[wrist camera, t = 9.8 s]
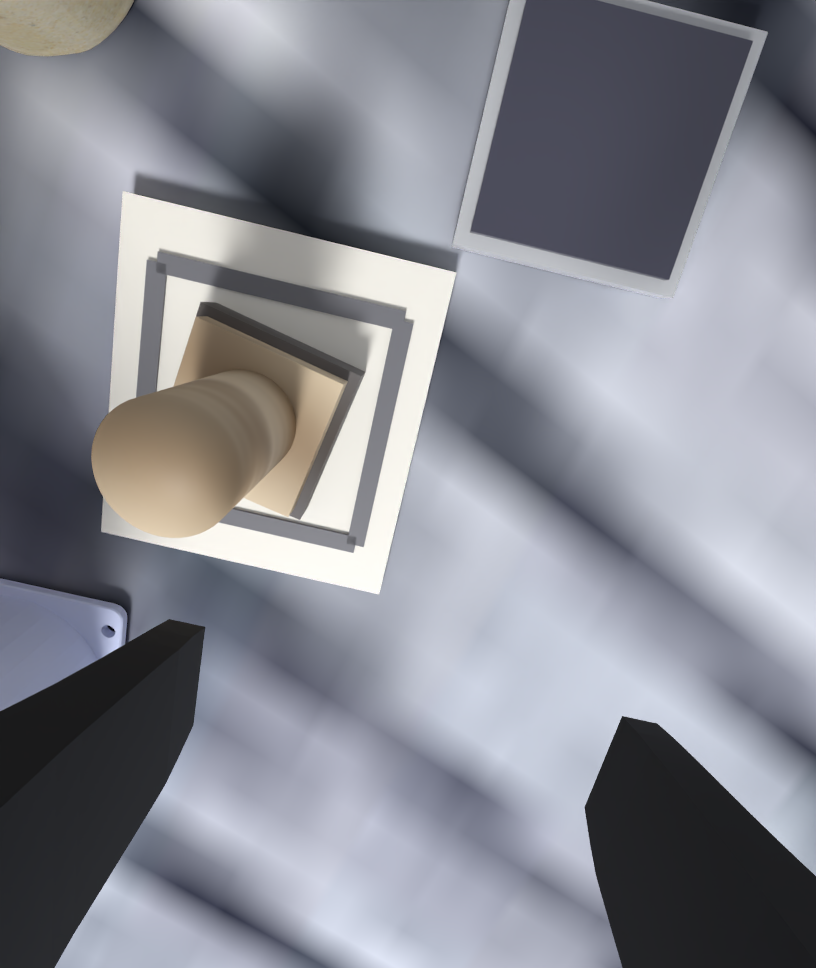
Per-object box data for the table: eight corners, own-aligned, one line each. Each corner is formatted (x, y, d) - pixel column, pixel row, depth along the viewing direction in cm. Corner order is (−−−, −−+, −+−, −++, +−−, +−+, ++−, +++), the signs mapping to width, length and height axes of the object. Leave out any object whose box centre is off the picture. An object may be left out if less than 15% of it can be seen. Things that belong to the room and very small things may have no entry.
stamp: (307, 507, 19) (239, 615, 12) (168, 446, 18) (18, 523, 12) (365, 371, 17) (325, 410, 11) (216, 302, 17) (76, 296, 10)
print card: (380, 586, 20) (378, 595, 20) (110, 525, 20) (99, 532, 19) (455, 273, 17) (456, 272, 16) (133, 195, 17) (120, 190, 16)
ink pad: (660, 298, 17) (677, 297, 16) (451, 247, 17) (453, 242, 16) (749, 47, 15) (775, 26, 14) (512, -14, 15) (519, -41, 14)
